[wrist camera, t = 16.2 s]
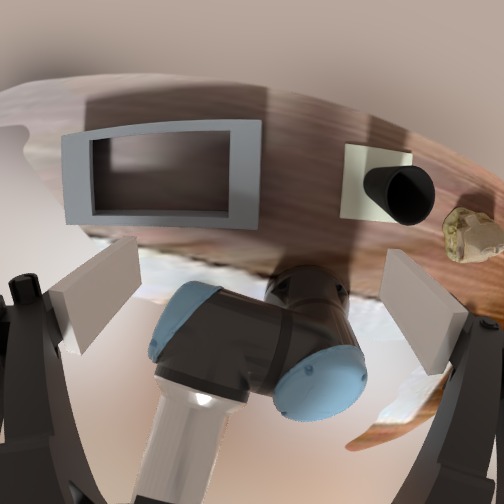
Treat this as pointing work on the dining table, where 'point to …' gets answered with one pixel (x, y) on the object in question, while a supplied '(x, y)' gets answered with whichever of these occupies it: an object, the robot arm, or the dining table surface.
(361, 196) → the mat
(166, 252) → the dining table surface
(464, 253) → the ceramic model
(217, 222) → the slot box
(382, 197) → the cup
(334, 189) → the dining table surface
